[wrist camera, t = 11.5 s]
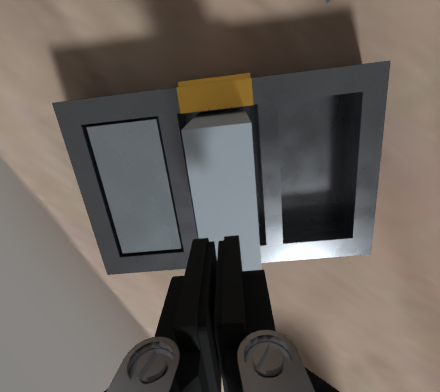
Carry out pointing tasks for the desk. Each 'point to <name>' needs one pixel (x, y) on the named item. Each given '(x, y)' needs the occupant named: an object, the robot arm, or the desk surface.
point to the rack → (263, 162)
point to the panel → (224, 180)
